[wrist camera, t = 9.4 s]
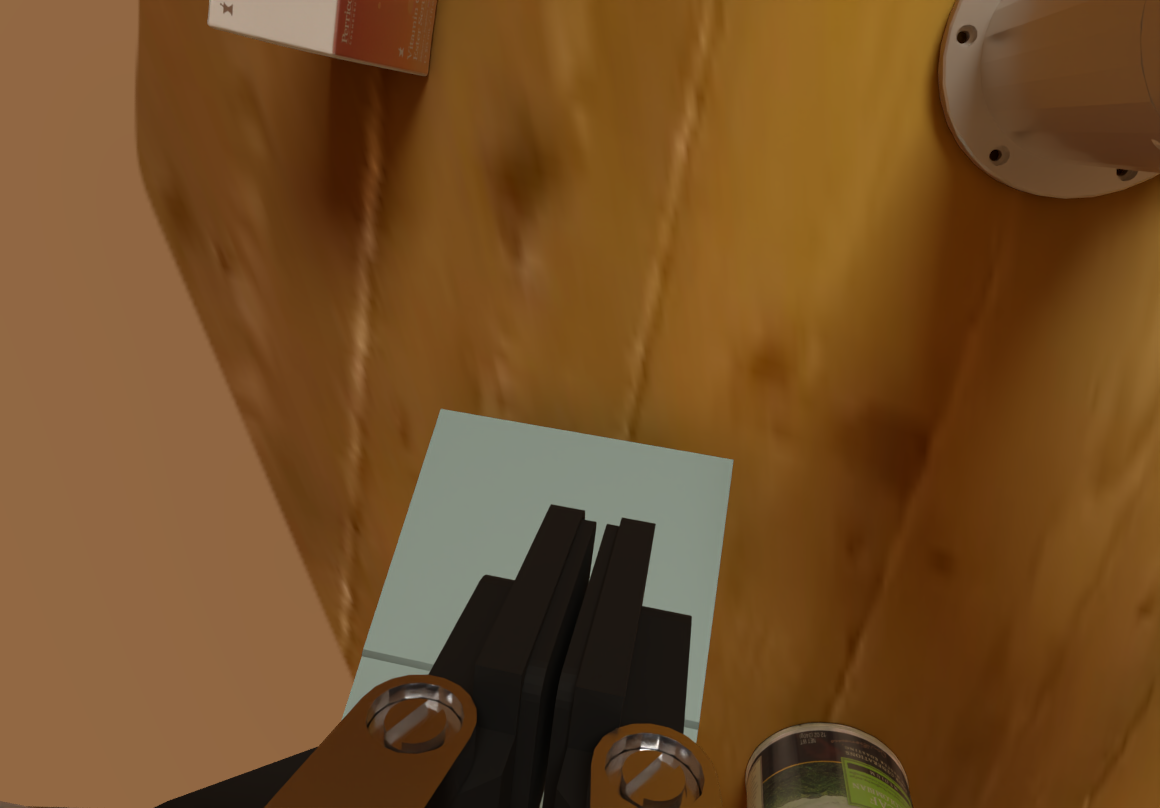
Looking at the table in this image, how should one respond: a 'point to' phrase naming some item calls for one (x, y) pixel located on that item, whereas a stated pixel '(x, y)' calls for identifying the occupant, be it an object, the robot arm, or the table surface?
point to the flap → (512, 519)
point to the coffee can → (825, 770)
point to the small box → (337, 28)
